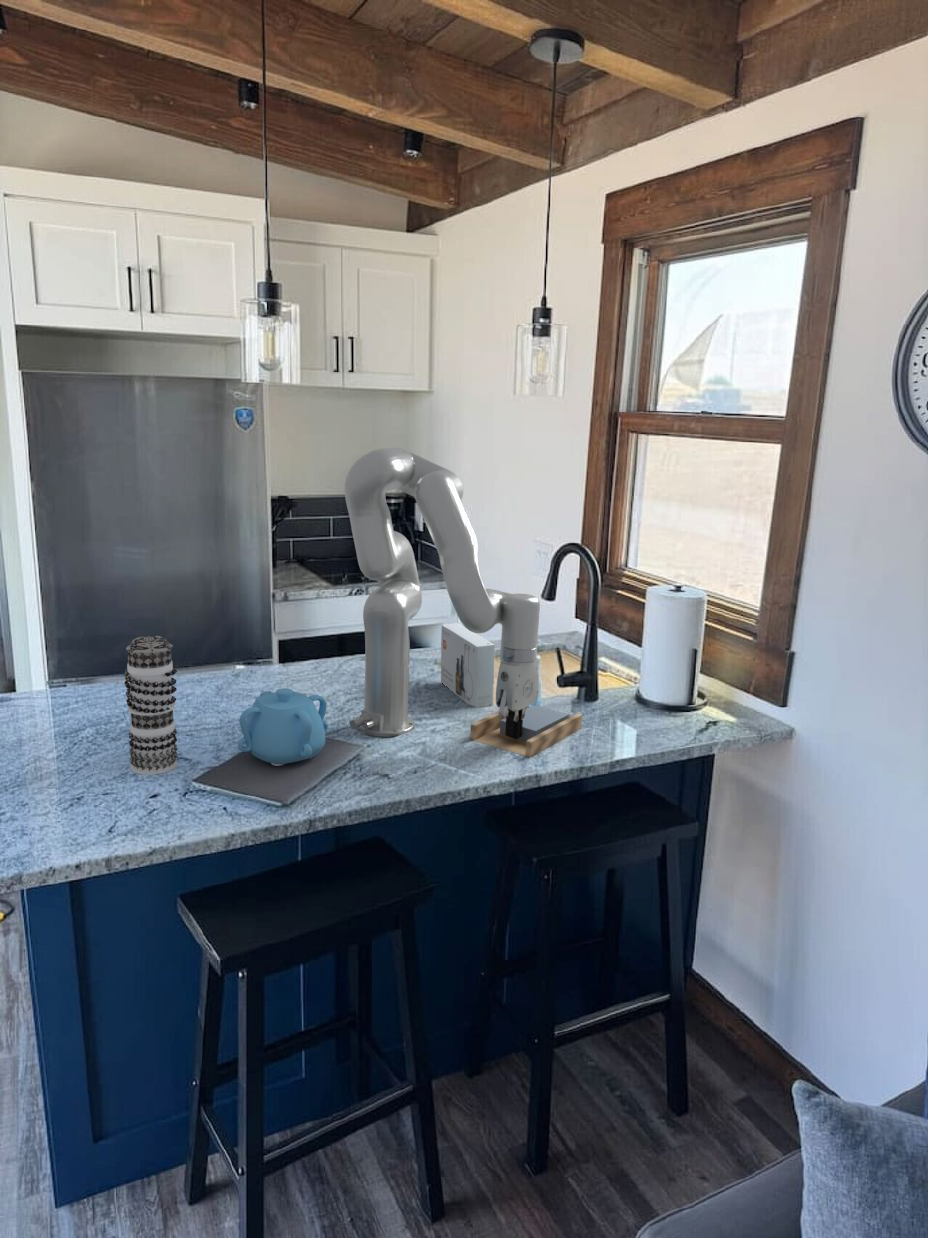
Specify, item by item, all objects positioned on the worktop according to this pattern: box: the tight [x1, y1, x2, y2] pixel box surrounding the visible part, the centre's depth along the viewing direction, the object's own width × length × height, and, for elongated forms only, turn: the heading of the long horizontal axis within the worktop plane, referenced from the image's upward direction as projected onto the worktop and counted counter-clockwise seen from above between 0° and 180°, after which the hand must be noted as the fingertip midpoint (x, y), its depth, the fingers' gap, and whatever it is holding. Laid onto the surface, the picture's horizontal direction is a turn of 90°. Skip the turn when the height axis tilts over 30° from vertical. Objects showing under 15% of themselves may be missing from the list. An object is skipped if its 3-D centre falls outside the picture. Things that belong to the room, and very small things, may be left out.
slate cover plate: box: [500, 704, 570, 741], centre depth 186 cm, size 14×9×3 cm, turn 143°
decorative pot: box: [237, 687, 329, 765], centre depth 167 cm, size 16×16×14 cm
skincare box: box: [440, 622, 496, 708], centre depth 208 cm, size 21×6×16 cm, turn 25°
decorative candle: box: [123, 635, 179, 776], centre depth 157 cm, size 9×9×25 cm
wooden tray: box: [469, 705, 583, 758], centre depth 184 cm, size 22×15×4 cm
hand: (513, 736), depth 179 cm, fingers closed
